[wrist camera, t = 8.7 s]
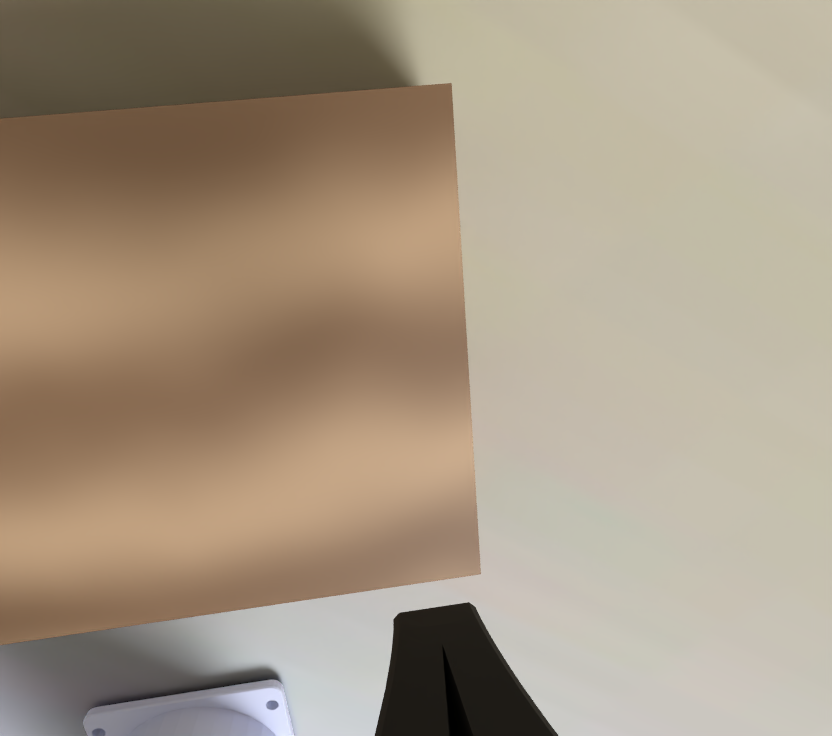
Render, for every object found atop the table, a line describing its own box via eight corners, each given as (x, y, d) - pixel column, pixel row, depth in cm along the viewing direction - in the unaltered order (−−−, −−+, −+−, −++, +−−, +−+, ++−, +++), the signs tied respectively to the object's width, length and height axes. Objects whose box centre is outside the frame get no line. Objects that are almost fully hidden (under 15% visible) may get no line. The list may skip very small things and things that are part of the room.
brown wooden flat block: (458, 504, 20) (480, 573, 17) (31, 563, 19) (-49, 652, 15) (429, 111, 16) (451, 83, 12) (-127, 156, 15) (-294, 141, 11)
